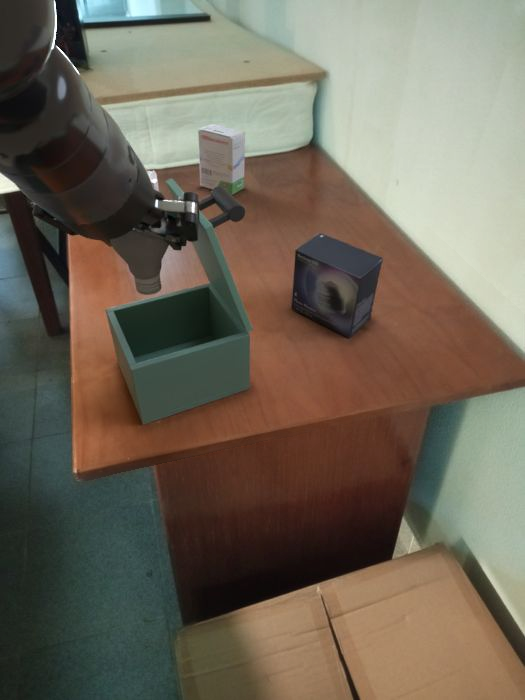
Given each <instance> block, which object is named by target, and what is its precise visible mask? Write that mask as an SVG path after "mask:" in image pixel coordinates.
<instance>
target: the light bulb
mask: <svg viewBox="0 0 525 700" xmlns="http://www.w3.org/2000/svg"><path fill="white" fill-rule="evenodd" d="M167 224H168V219H167ZM149 227H151V226H149ZM110 243H111V245H112V247H111V248H113V250H114V252H116V253H117V255H118V256H119V257H120V258H121V259H122V260H123V261H124V263H126V265H127V266H128V270H129V272H130V273H131V275H132V276H133V278H134V285H135V290H136V293H138V294H140V295H142V296H152V295H155V294H157V293H160V291H161V290H162V281H161V270H162V268H163V267H162V264H163V260H164V259H163V258H164V256H165V254H166V252H167V251H168V248H169V246H170V245H169V244H168V242H167V241H166V240H165V239H155V240H152V239H150V238H147V237H145V236H142V235H140V234H138V233H132V234H131V233H127V234H125V235H123V236H121V237H118V238H115V239H111V240H110Z"/></svg>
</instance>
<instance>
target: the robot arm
mask: <svg viewBox="0 0 525 700" xmlns="http://www.w3.org/2000/svg"><path fill="white" fill-rule="evenodd" d="M56 32H57V9H56V1H55V0H0V174H1V175H2V176H4V177H5V178H6V179H8V180H9V181H10V182H12V183H13V184H14V186H16V187H17V188H18V189H19V190H20V192H21V193H22V194H24V196H25V197H26V198H28V199H29V201H31V202H32V203H33V207H32V216H33V217H35V218H37V219H38V220H40V221H43V222H44V223H46V224H48V225H50V226H51V227H54V228H56V229H57V230H59V231H61V232H63V233H65V234H66V235H69V236H72V237H73V236H81V237H83V238H86V239H89V240H93V241H100V242H103V243H104V244H105V245H106V246H108V247H109V248H113V247H112V245H111V243H110V240H111V239H115V238H118V237H121V236H123V235H125V234H127V233H131V234H132V233H138V234H140V235H142V236H145V237H147V238H150V239H152V240H155V239H165V240H166V241H167V242H168V244H169V246H170V247H171V249H172V250H173V251H182V247H186V246H187V243H188V242H191V243H192V242H194V241H198V222H199V215H200V214H199V195H198V194H197V193H195V192H192V191H185V192H184V194H183V198H182V197H180V198H179V199H178V201H176V200H173V199H166V197H165V195H164V194H163V193H162V192H160V190H159V191H157V190H155V189H153V187H152V184H151V181H150V178H149V175H148V173H147V171H148V170H147V169H146V167H145V165H144V164H143V163H142V161H141V159H140V158H139V156H138V154H137V152H135V150H134V148H133V147H132V145H131V144H130V142H129V141H128V139H127V137H126V135H125V134H124V133H123V131H122V129H121V128H120V126H119V125H118V123H117V122H116V120H114V118H113V117H112V115H111V114H110V113H109V112H108V110H106V109H105V108H104V107H103V106H102V105H101V104H100V103H99V102H98V100H97V98H96V97H95V95H94V94H93V93H92V91H91V89H90V88H89V86H88V85H87V83H86V82H85V80H84V79H83V77H82V76H81V74H80V73H79V71H78V70H77V68H76V67H75V66H74V64H73V62H71V60H70V59H69V57H68V56H67V55H66V54H65V53H64V52H63V51H62V50H61V49H60V48H59V47H58V46H57V45H56V44H55V40H56V34H57V33H56ZM167 219H168V224H167ZM149 226H151V227H149Z"/></svg>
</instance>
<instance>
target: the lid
mask: <svg viewBox="0 0 525 700" xmlns="http://www.w3.org/2000/svg"><path fill="white" fill-rule="evenodd" d="M164 182H165V184H166V187H167V188H168V191H169V193H170V196H171V197H172V200H176V201H178V199H179V198H180V197H182V198H183V194H184V193H185V192H184V190H183V189H182V188H181V187H180V185H178V183H177V182H176V180H174V179H173V177H170V178H168V179H166V180H165V181H164ZM198 202H199V214H200V215H199V222H198V241H194V242H191V243H192V245H193V248H194V251H195V252H196V255H197V257H198V260H199V262H200V264H201V266H202V268H203V270H204V273H205V275H206V278H207V279H208V281H209V283H211V284H212V285H213V287H214V288H215V290H216V291H217V292H218V294H219V295H220V296H221V298H222V299H223V301H224V302H225V303H226V305H227V306H228V308H229V309H230V310H231V312H232V313H233V314H234V316H235V317H236V319H237V320H238V321H239V323H240V324H241V325H242V327H243V328H244V330H245V331H246V332H247V333H250V332H251V331H253V330H254V328H253V325H252V324H251V321H250V318H249V316H248V313H247V310H246V308H245V305H244V303H243V300H242V298H241V295H240V293H239V290H238V287H237V284H236V281H235V279H234V277H233V275H232V272H231V269H230V267H229V264H228V261H227V259H226V257H225V254H224V251H223V249H222V246H221V243H220V241H219V238H218V236H217V234H216V231H215V228H217V227H220V225H223V224H224V223H227V222H229V221H231V222H233V223H238V222H240V221H242V220H243V219H244V217H245V215H246V209H245V207H244V206H243V205H242V204H241V203H240V202H239V200H237V199H236V198H235V197H234V196H233V195H231V194H230V193H229V192H228V191H227V190H226V189H225V188H224V187H222V186H217V187H215V188H214V189H213V190H212V189H211V191H210V195H209V196H207V197H205V198H204V199H201V200H198ZM213 205H216V206H217V208H219V209H220V211H222V213H220V214H217V215H216V216H214V217H212V218H210V219H208V218H207V217H206V215H204V213H203V212H202V211H203V210H205V209H207V208H209V207H211V206H213Z"/></svg>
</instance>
